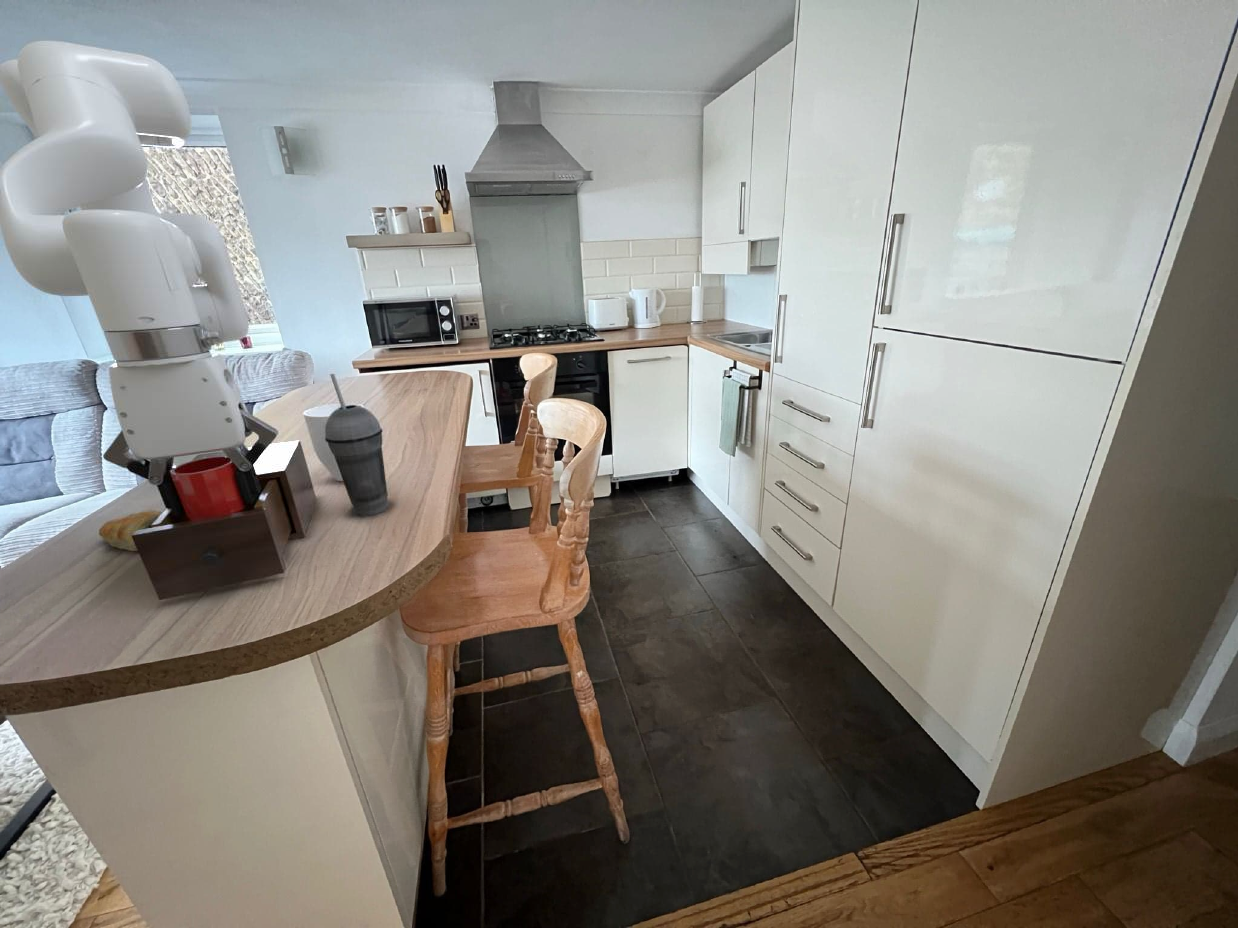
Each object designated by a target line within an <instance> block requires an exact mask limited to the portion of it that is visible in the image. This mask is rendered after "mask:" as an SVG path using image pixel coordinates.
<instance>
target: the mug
mask: <svg viewBox="0 0 1238 928" xmlns="http://www.w3.org/2000/svg"><path fill="white" fill-rule="evenodd" d="M344 403H345V406H348V405H356V406H360V407H363V408H365V405H363V404H360V403H353V402H344ZM340 407H341V405H340V403H331V404H324V405H319V406H315V407H312V408H309V409H307V410H304V411H303V413H302V415H303V418H304V421H305V424H306V428H307V432H308V434H309V439H310V441H311V444H312V447H313V450H314V452H315V454H316V456H317V459H318V460H319V462H320V463H321V464H322V465H323V466H324V467H325V469H326V470H327V471H328V472H329V474H330V475H331V476H332V477H333V479H334V480H335V481H338V482H343V479H342V476H341V473H340V471H339V468H338V465H337V462H336V460H335V457H334V454H332V452H331V450H330V448H329V446H328V442H326V441H325V424H326V421H327V419H328V417H329V416H330V415H331V414H332V413H333V412H334V411H335V410H336V409H338V408H340Z"/></svg>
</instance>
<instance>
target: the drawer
mask: <svg viewBox="0 0 1238 928" xmlns="http://www.w3.org/2000/svg"><path fill="white" fill-rule="evenodd" d="M259 483H260V486H261V492H260V493H259V494H258V496H257V498H256V500H255V501H254V503H253V504H250V505H248V506H247V507H246V508H244V509H242V510H241V511H239V512H236V513H233V514H227V515H221V516H216V517H210V518H204V519H199V520H193V521H192V520H189V519H188V518H187V516H186V513H185V514H184V515H182V516H181V517H176V518H175V517H174V515H173V513H172V510H171V509H167V508H165V509H164V510H163V511H162V512H163V513H162V514H161V515H160V516H159V517H158V518H157V519H156V520H155V521H154V522H153V524H152V525H151V527H152V528H148V529H142V530H137V531H135V532H134V533H133V534H132V535H131V536H132V539H133V541H134V543H135V546H136V548H137V550H138V551H137V552H138V554H139V557H140V559H141V562H142V563H143V566H144V568H145V571H146V573H147V575H148V577H149V580H150V582H151V585H152V586H153V589H154V591H155V593H156V595H157V598H158V600H159V601H164V600H168V599H174V598H177V597H182V596H186V595H191V594H195V593H200V592H205V591H208V590H214V589H218V588H222V587H226V586H227V587H228V586H231V585H232V586H233V585H237V584H241V583H245V582H249V581H254V580H259V579H264V578H267V577H272V576H276V575H277V576H278V575H282V574H284V573H285V571H286V564H285V561H284V558H283V554H284V552H285V549H286V546H287V543H288V541H289V540H288V538H289V535H290V532H291V530H292V527H293V524H292V521H291V517H290V514H289V510H288V507H287V504H286V501H285V497H284V494H283V491H282V487H281V484H280V481H279V478H278V477H277V478H270V479H264V480H259Z"/></svg>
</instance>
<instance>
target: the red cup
mask: <svg viewBox="0 0 1238 928" xmlns="http://www.w3.org/2000/svg"><path fill="white" fill-rule="evenodd" d="M237 471H238V470H237V466H236V465H235V464H234V463H233V462H232V461H231V459H230V458H229V457H228V456H215V457H208V458H202V459H198V460H193V461H190V462H187V463H184V464H181V465H179V466H176V467H174V468H173V469H171V470H170V471H169V472H170V475H171V477H172V480H173V483H174V485H175V488H176V490H177V493H178V495H179V498H180V501H181V503H182V506H183V508H184V511H185V513H186V516H187V518H188V519H189V520H192V521H193V520H199V519H204V518H210V517H216V516H221V515H227V514H233V513H236V512H239V511H241V510H242V509H244V508H246V507H247V506H248V505H247V504H245V503H244V501H243V498H242V495H241V492H240V489H239V486H238V483H237V480H236V477H235V474H236V472H237Z"/></svg>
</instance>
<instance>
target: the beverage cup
mask: <svg viewBox="0 0 1238 928" xmlns="http://www.w3.org/2000/svg"><path fill="white" fill-rule="evenodd" d="M329 375H330V378H331V381H332V384H333V387H334V390H335V393H336V395H337V399H338V402H339V404H340V405H341V407H340V408H338V409H336V410H335V411H334V412H333V413H332V414H331V415H330V416H329V417H328V419H327V421H326V424H325V441H326V442H328V446H329V448H330V450H331V452H332V454H334V457H335V460H336V462H337V465H338V468H339V471H340V473H341V476H342V479H343V481H342V482H343V485H344V487H345V489H346V492H347V496H348V498H349V501H350V503H351V505H352V508H353V510H354V513H355V515H357V516H360V517H361V516H364V517H365V516H366V517H367V516H372V515H376V514H379V513H381V512H384V511H385V510H387V509H388V508H389V501H388V488H387V478H386V470H385V462H384V455H383V428H382V427H381V425H380V421H378V419H377V417H376V416H375V415H374V414H373V413H372V412H371V411H370V410H369V409H367V408H366V407H364V408H363V407H360V406H356V405H348V406H345V403H346V402H345V400H344V398H343V394H342V393H341V389H340V386H339V383H338V381H337V378H336V374H335V373H331V374H329Z"/></svg>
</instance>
